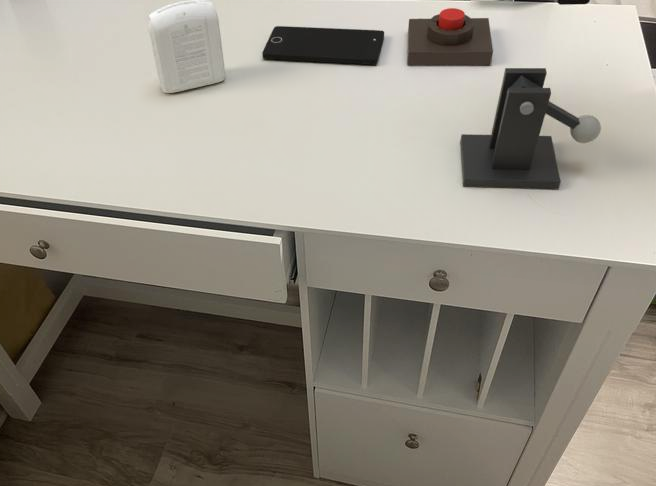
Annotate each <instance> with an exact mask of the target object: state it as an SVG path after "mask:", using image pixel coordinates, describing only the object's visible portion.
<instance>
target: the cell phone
mask: <svg viewBox="0 0 656 486" xmlns="http://www.w3.org/2000/svg"><path fill="white" fill-rule="evenodd" d="M384 39H385V31H384V30H378V29H361V28H360V29H358V28H357V29H356V28H336V27H335V28H333V27H313V26H312V27H311V26H288V25H287V26H286V25H276V26H274V27H273V29H272V31H271V33H270V35H269V37H268V40H267V42H266V44H265V45H264V48H263V50H262V51H261V53H262V55H261V56H262V59H264V60H269V59H270V60H284V61H285V60H286V61H305V62H322V63H324V62H325V63H338V64H339V63H340V64H360V65H372V66H373V65H377V64H378V62H379V58H380V55H381V51H382V46H383V43H384Z"/></svg>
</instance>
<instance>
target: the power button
mask: <svg viewBox="0 0 656 486" xmlns="http://www.w3.org/2000/svg"><path fill="white" fill-rule="evenodd" d="M465 13H466V12H465V11H463V9H459V8H457V7H450V8H445V9H443V10H440V12H439V14H440V15H439V23H438V26H439V27H440V28H441V29H445V30H458V29H461V28H462V27H463V23H464V17H465V15H466V14H465Z"/></svg>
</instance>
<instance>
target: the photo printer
mask: <svg viewBox="0 0 656 486" xmlns="http://www.w3.org/2000/svg"><path fill="white" fill-rule="evenodd" d="M147 28H148V29H147V30H148V35H149V40H150V43H151V48H152V53H153V58H154V59H153V60H154V63H155V67H156V68H155V69H156V73H157V78H158V83H159V87H160V90H161V91H162V92H163V93H165V94H172V93H178V92H179V93H180V92H183V91H187V90H193V89H195V88H201V87H203V86H209V85H212V84H213V85H214V84H218V83H220V82H223V81H225V79H226V68H225V60H224V51H223V45H222V44H223V43H222V35H221V28H220V20H219V16H218V12H217V9H216V8H215V5H214V4H213V1H210V0H182V1H177V2H174V3H170V4H167V5H165V6H162V7H160V8H158V9H156V10H155V11H152V12H151V13H150V14H149V15H148V27H147Z"/></svg>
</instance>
